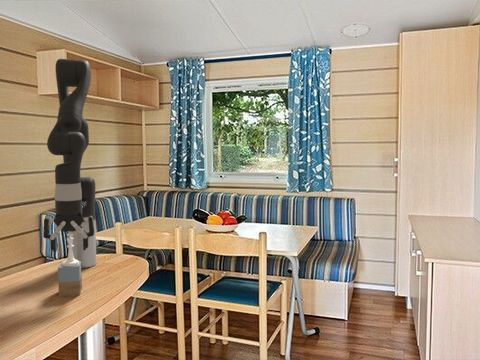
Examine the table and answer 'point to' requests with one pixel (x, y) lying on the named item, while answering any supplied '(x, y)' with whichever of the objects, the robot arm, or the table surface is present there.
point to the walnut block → (70, 288)
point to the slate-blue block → (69, 273)
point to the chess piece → (70, 253)
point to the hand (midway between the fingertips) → (69, 250)
